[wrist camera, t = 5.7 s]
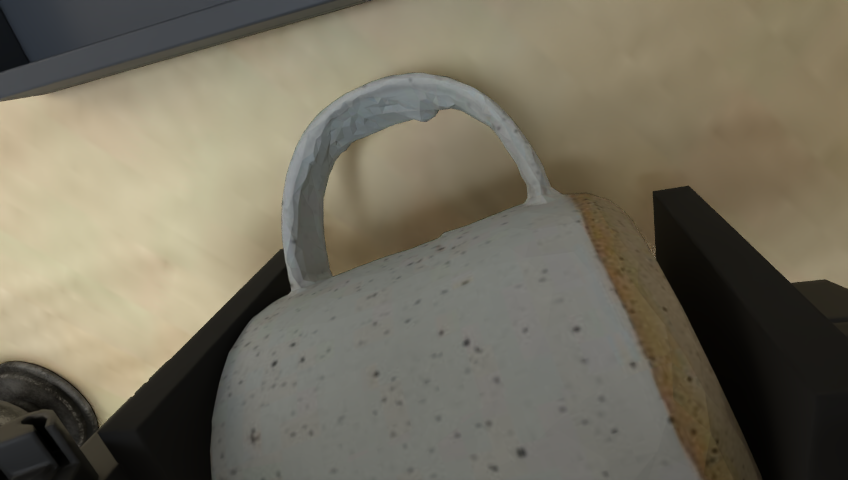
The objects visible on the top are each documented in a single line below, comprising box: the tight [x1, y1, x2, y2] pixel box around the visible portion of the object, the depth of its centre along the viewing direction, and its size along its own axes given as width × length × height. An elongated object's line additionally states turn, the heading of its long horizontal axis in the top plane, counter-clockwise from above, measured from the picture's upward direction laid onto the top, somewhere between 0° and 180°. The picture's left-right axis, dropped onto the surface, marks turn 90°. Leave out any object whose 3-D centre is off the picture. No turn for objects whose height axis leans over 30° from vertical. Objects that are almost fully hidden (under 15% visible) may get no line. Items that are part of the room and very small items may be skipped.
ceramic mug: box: [210, 73, 763, 480], centre depth 9 cm, size 11×8×8 cm
